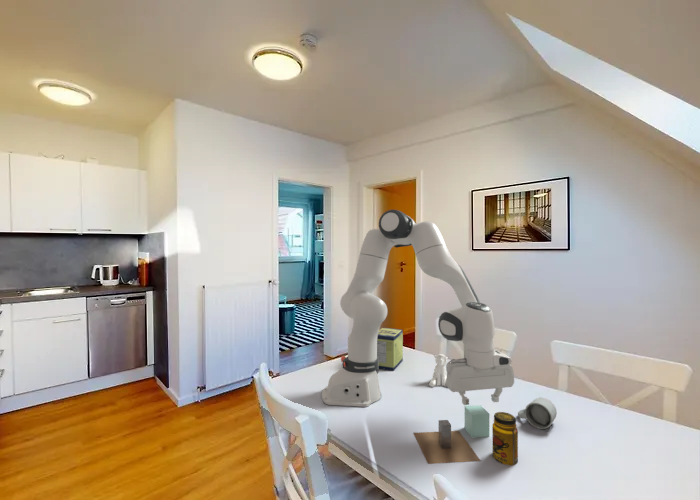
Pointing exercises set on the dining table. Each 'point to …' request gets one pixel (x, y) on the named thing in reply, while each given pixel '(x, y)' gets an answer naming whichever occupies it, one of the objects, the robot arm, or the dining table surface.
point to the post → (444, 434)
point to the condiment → (505, 439)
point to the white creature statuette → (439, 371)
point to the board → (438, 455)
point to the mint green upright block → (477, 421)
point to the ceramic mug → (539, 413)
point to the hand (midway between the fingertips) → (480, 402)
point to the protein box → (389, 348)
